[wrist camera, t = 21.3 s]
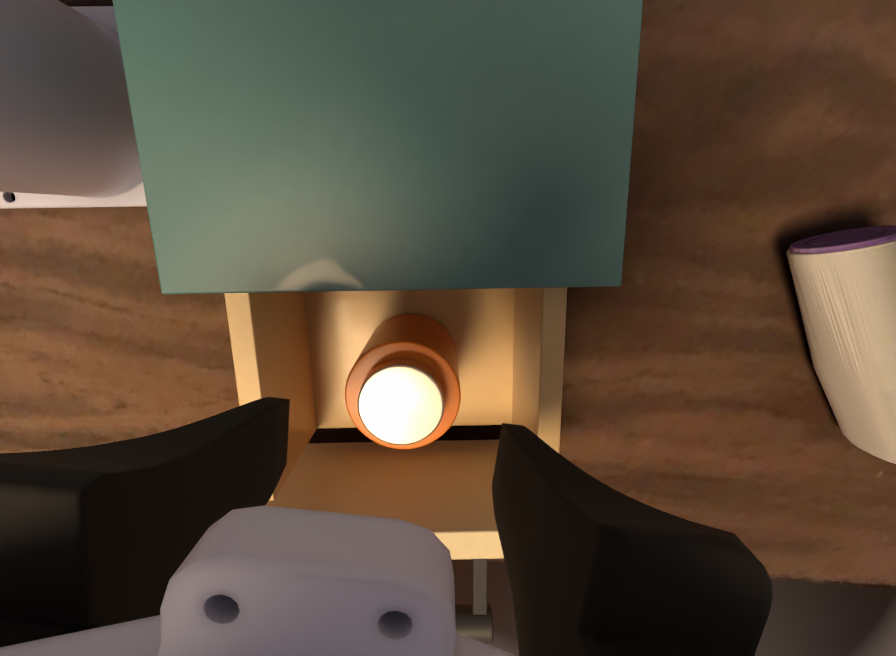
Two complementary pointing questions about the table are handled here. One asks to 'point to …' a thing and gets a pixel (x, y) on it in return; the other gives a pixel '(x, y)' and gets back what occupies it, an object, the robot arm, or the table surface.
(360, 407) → the orange cylinder
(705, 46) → the table surface
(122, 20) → the cabinet
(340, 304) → the drawer
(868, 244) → the infrared thermometer
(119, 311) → the table surface
